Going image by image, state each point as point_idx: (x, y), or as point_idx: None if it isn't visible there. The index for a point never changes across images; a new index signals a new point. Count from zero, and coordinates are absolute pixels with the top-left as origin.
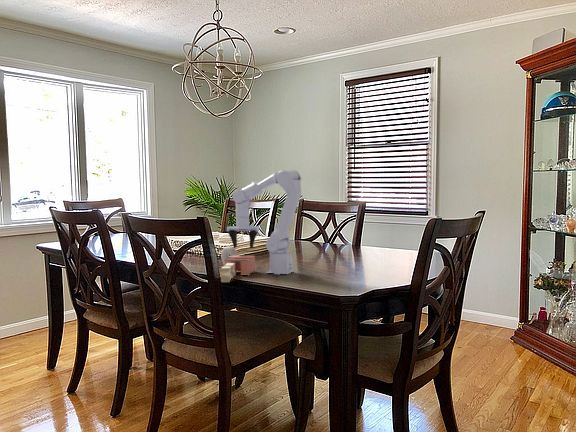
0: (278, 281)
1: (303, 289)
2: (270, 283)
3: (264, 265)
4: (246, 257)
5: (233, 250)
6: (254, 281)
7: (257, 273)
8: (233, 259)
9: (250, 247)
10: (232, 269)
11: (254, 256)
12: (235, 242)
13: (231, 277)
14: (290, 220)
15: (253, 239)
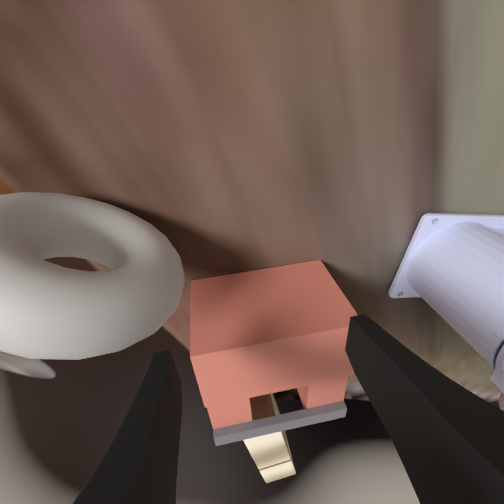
0: (437, 365)
1: (494, 398)
2: None
3: (333, 35)
4: (322, 379)
5: (143, 337)
6: (360, 389)
7: None
8: (268, 433)
9: (349, 351)
10: None
11: None
12: (171, 428)
13: (277, 408)
14: None
15: (433, 390)
